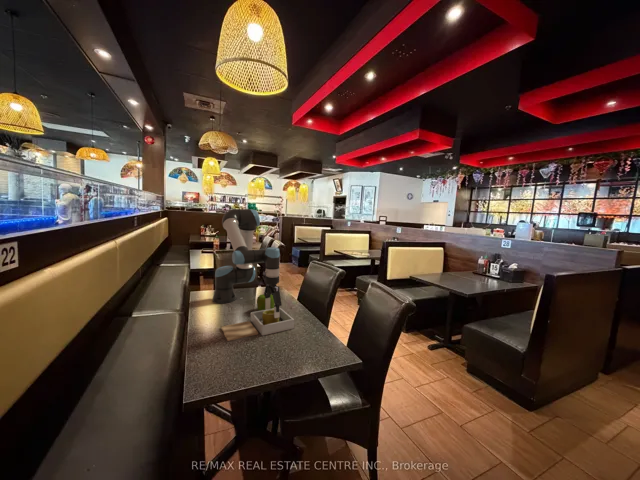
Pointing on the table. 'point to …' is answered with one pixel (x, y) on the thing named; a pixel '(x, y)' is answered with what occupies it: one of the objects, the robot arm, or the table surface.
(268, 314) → the mug
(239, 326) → the board
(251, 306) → the table surface
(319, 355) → the table surface
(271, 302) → the apple
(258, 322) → the tub
